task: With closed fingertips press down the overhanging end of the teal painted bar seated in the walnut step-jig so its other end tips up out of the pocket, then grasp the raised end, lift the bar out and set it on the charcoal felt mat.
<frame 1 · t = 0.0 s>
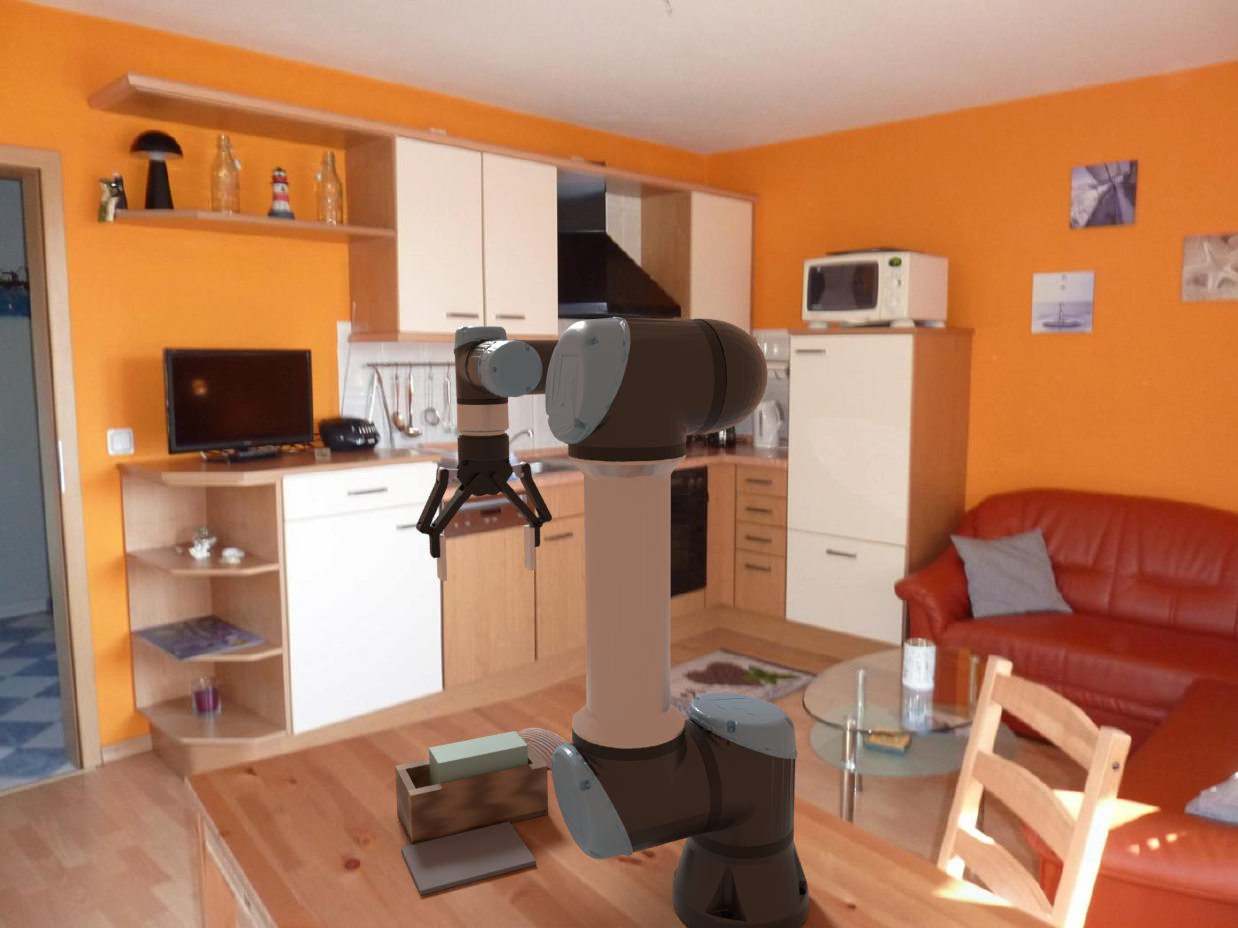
hand: (486, 573, 138), 28 cm above the table, fingers open, 13 cm apart
jig: (475, 813, 123), on the table
mat: (467, 858, 112), on the table
part: (479, 781, 123), point 4 cm above the table, touching jig
seashell: (540, 756, 141), on the table
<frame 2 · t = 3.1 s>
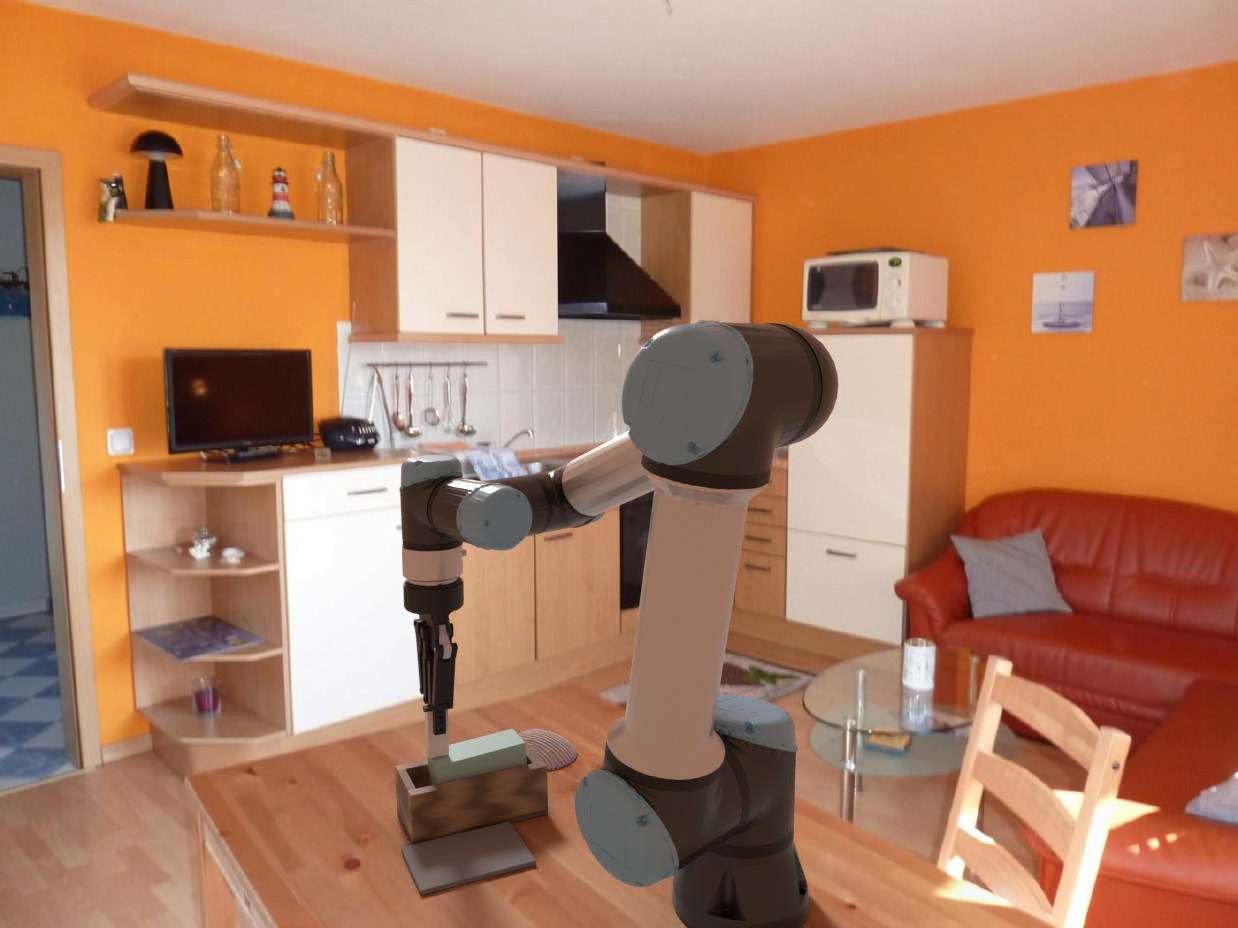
hand: (437, 753, 120), 9 cm above the table, fingers closed
part: (479, 781, 123), point 4 cm above the table, touching gripper, jig
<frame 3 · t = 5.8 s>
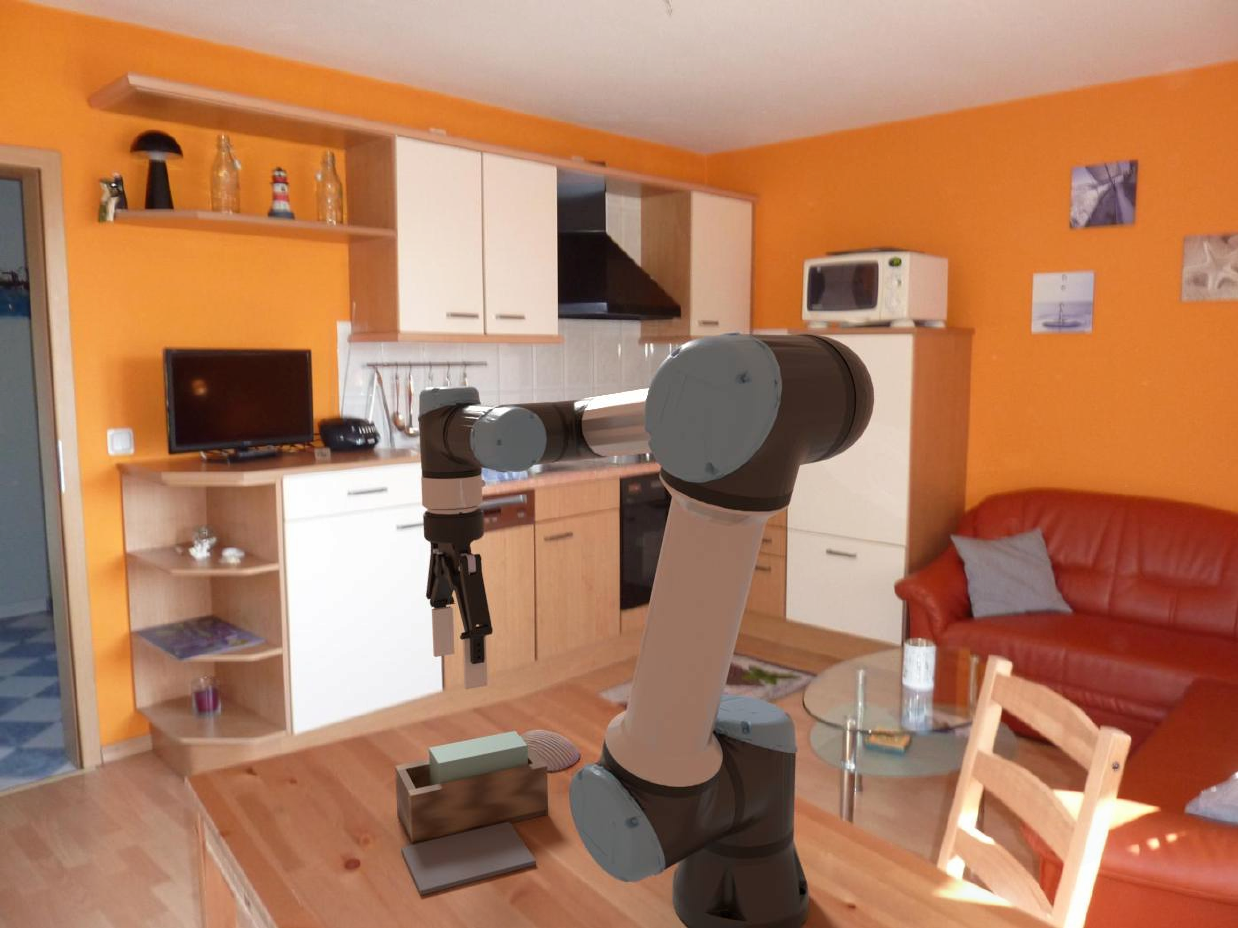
hand: (459, 670, 119), 20 cm above the table, fingers open, 13 cm apart
part: (479, 781, 123), point 4 cm above the table, touching jig
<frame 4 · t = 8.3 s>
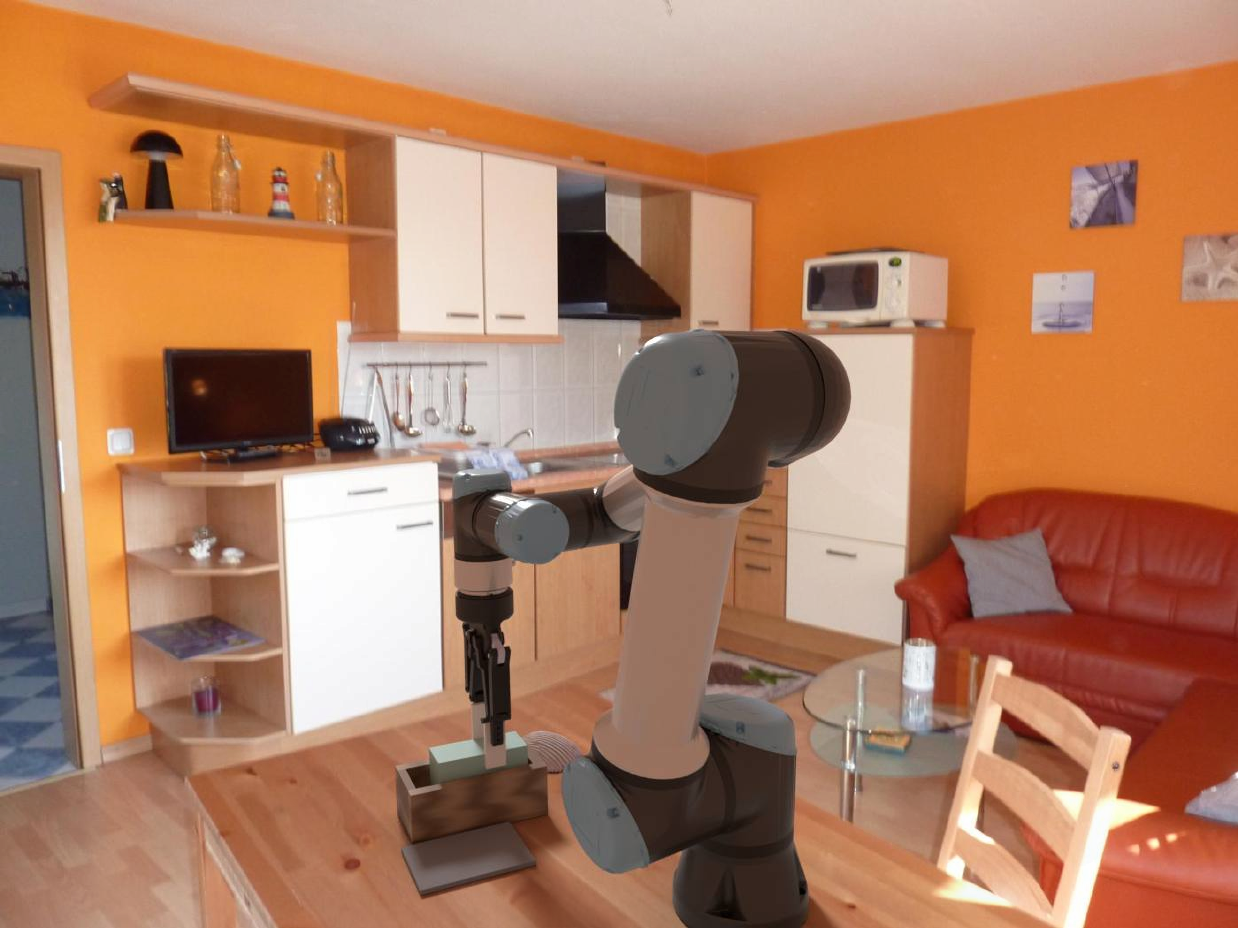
hand: (488, 756, 123), 8 cm above the table, fingers closed on part, 5 cm apart
part: (479, 781, 123), point 4 cm above the table, touching gripper, jig
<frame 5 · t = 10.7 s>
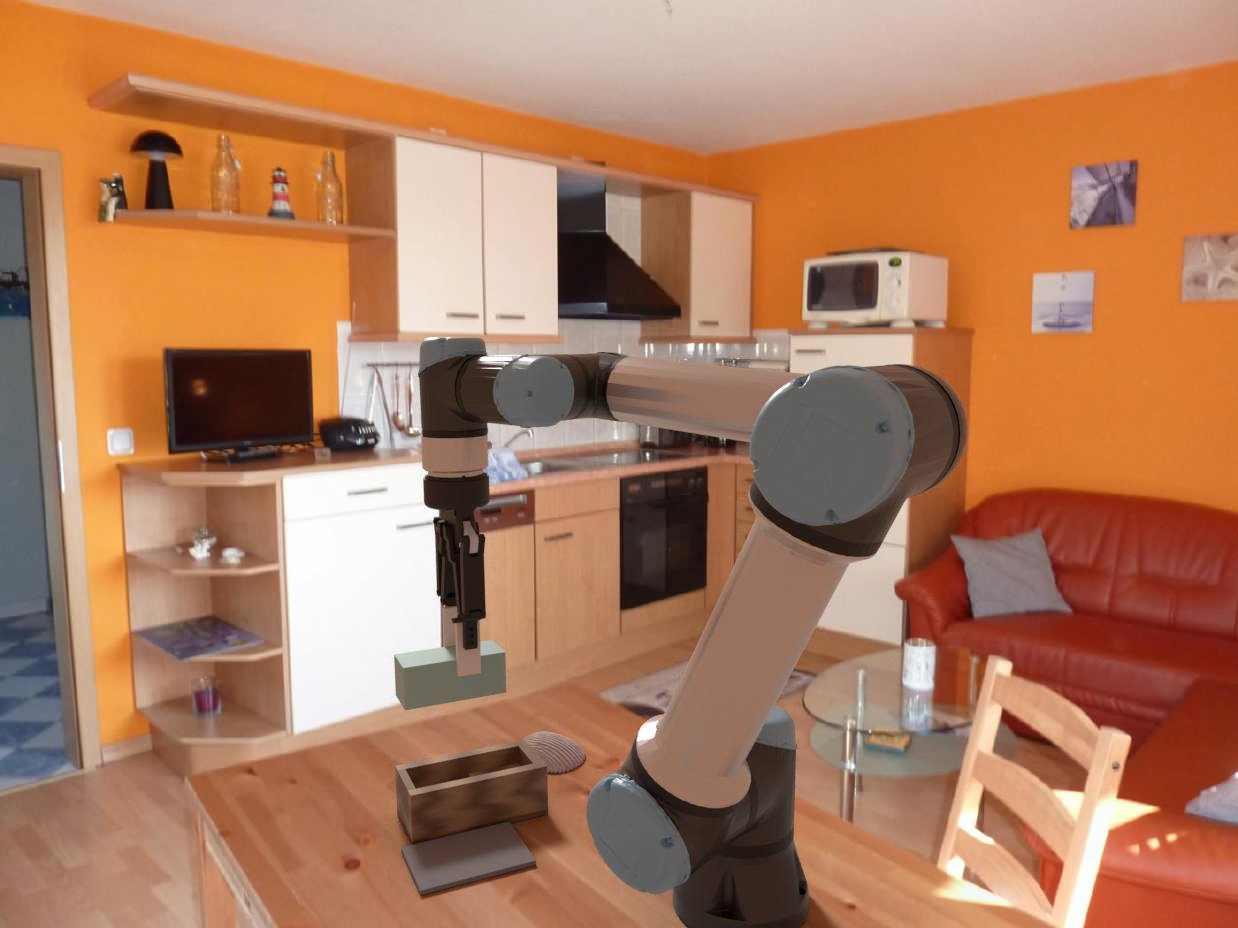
hand: (462, 665, 109), 24 cm above the table, fingers closed on part, 5 cm apart
part: (451, 693, 109), point 21 cm above the table, touching gripper
when the fingers open (9 cm above the table, at t = 13.2 s): part drops 5 cm, resting on mat.
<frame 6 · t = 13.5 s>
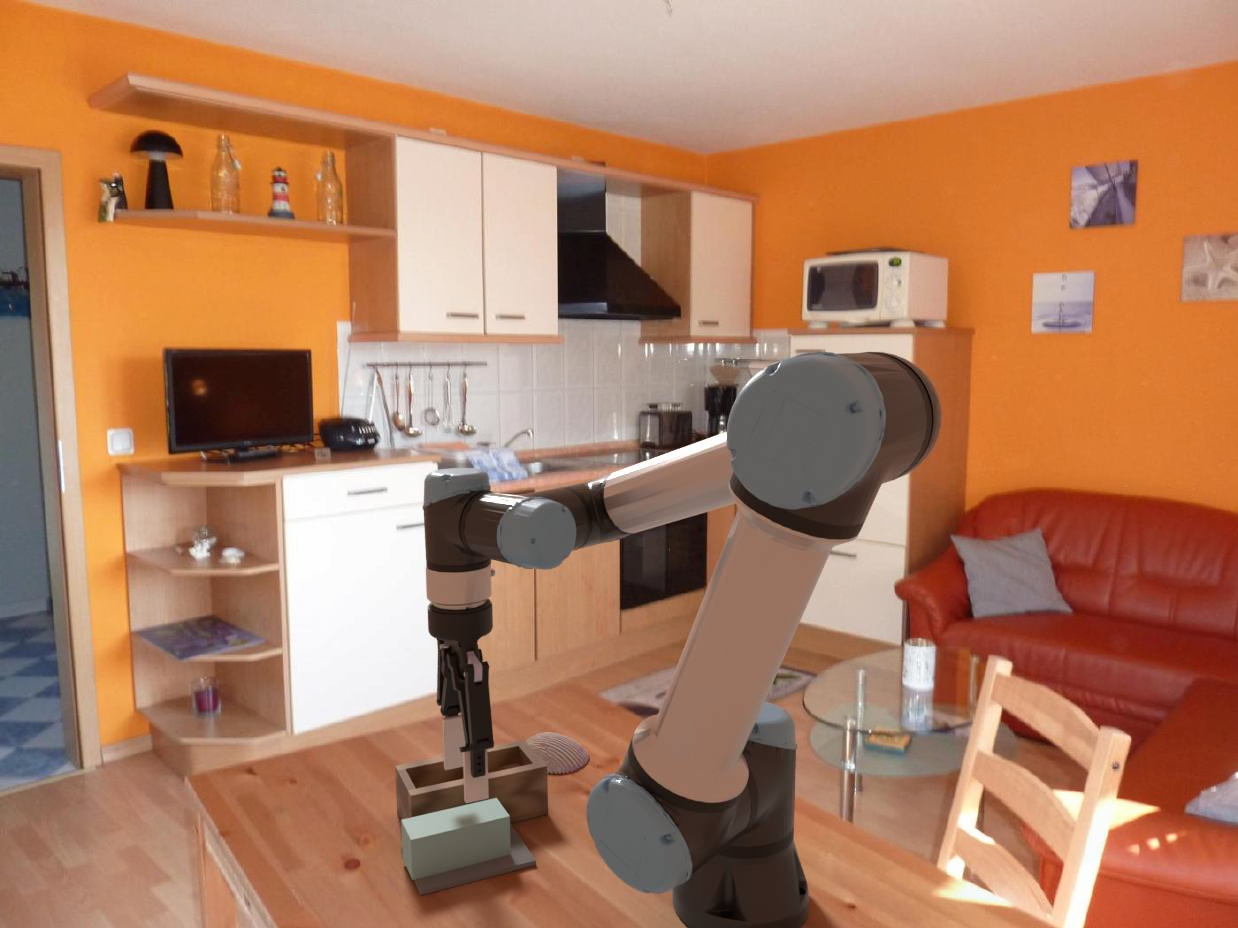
hand: (465, 782, 111), 10 cm above the table, fingers open, 8 cm apart
part: (456, 856, 112), point 1 cm above the table, touching mat
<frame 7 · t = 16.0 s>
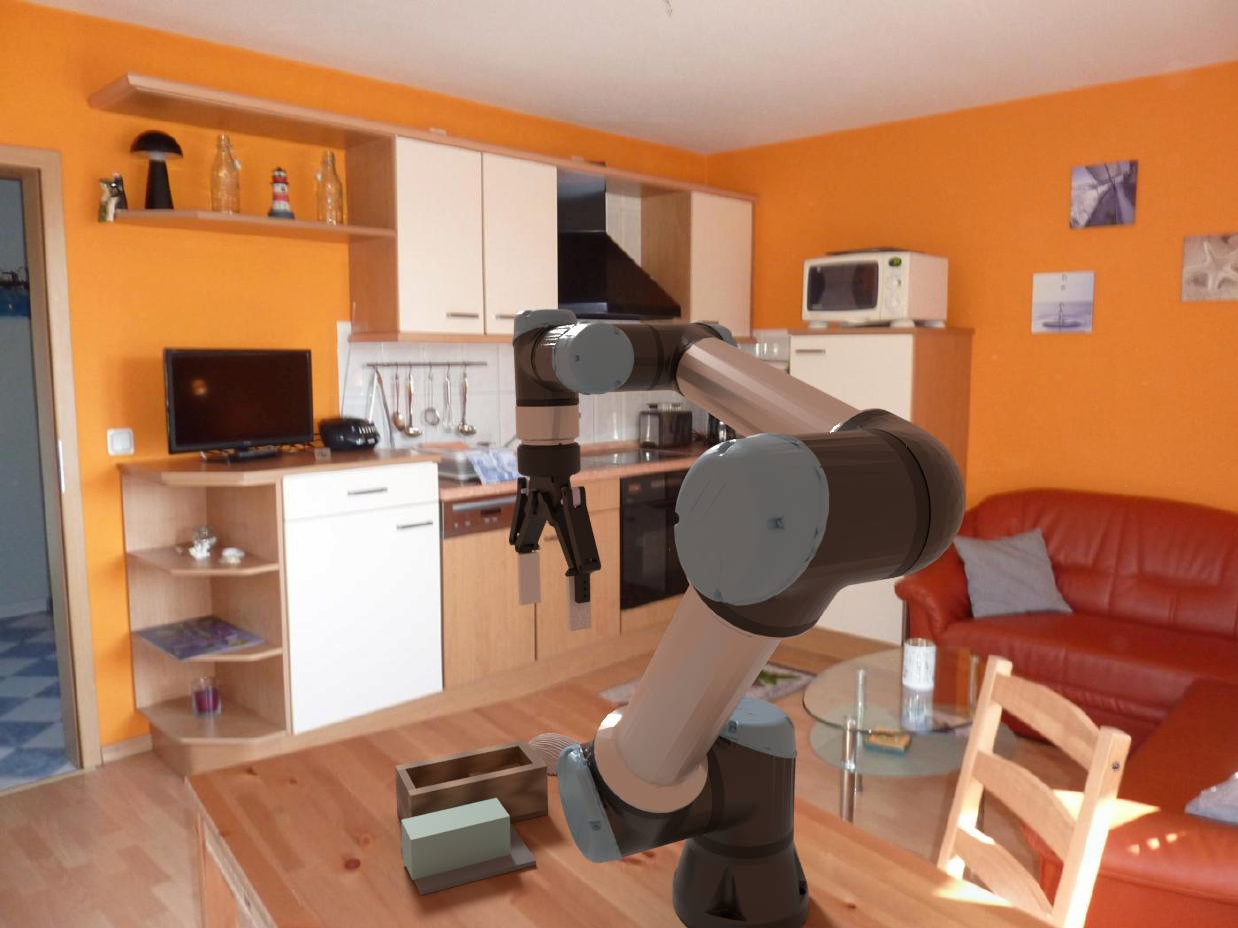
hand: (553, 615, 112), 29 cm above the table, fingers open, 13 cm apart
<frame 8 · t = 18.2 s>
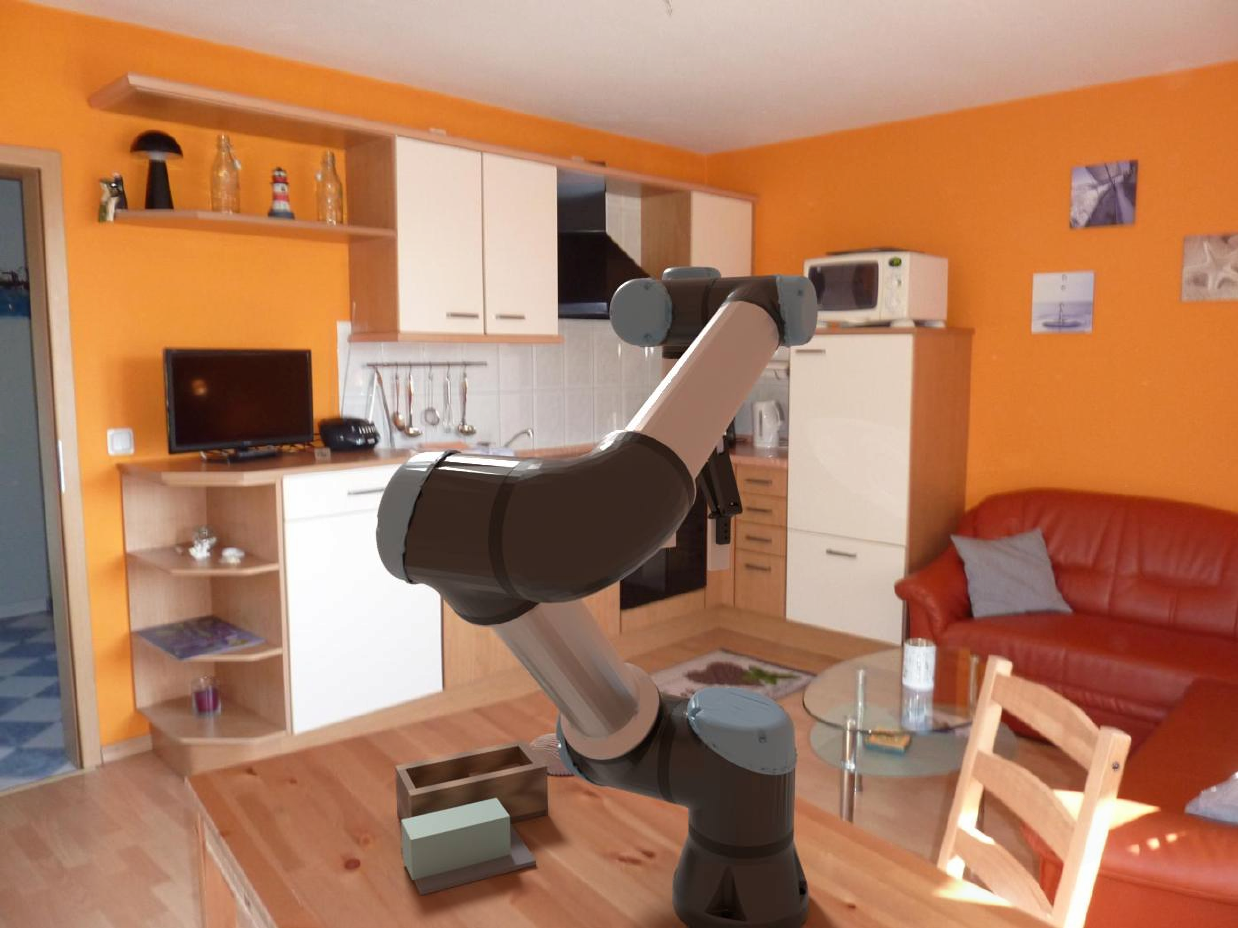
hand: (690, 557, 119), 35 cm above the table, fingers open, 13 cm apart
at the end: part inside the target area (1.4 cm from its centre), point 0.6 cm above the table; the gripper is holding nothing; part moved 12.3 cm from its start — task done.
